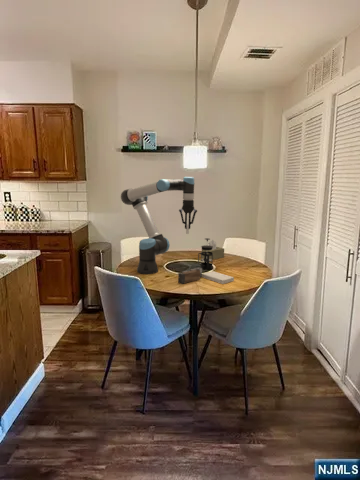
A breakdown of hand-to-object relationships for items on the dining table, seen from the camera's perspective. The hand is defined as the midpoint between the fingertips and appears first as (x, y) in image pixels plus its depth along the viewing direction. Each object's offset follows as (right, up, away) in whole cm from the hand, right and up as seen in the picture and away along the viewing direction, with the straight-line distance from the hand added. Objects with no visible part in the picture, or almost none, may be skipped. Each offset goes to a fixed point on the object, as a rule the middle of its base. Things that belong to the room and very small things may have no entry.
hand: (187, 233), depth 226 cm
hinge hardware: (+4, -31, -8) cm, 32 cm away
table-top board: (+20, -31, -7) cm, 38 cm away
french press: (+14, -26, +20) cm, 36 cm away
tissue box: (+23, -20, +54) cm, 62 cm away
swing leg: (+1, -32, -13) cm, 34 cm away
